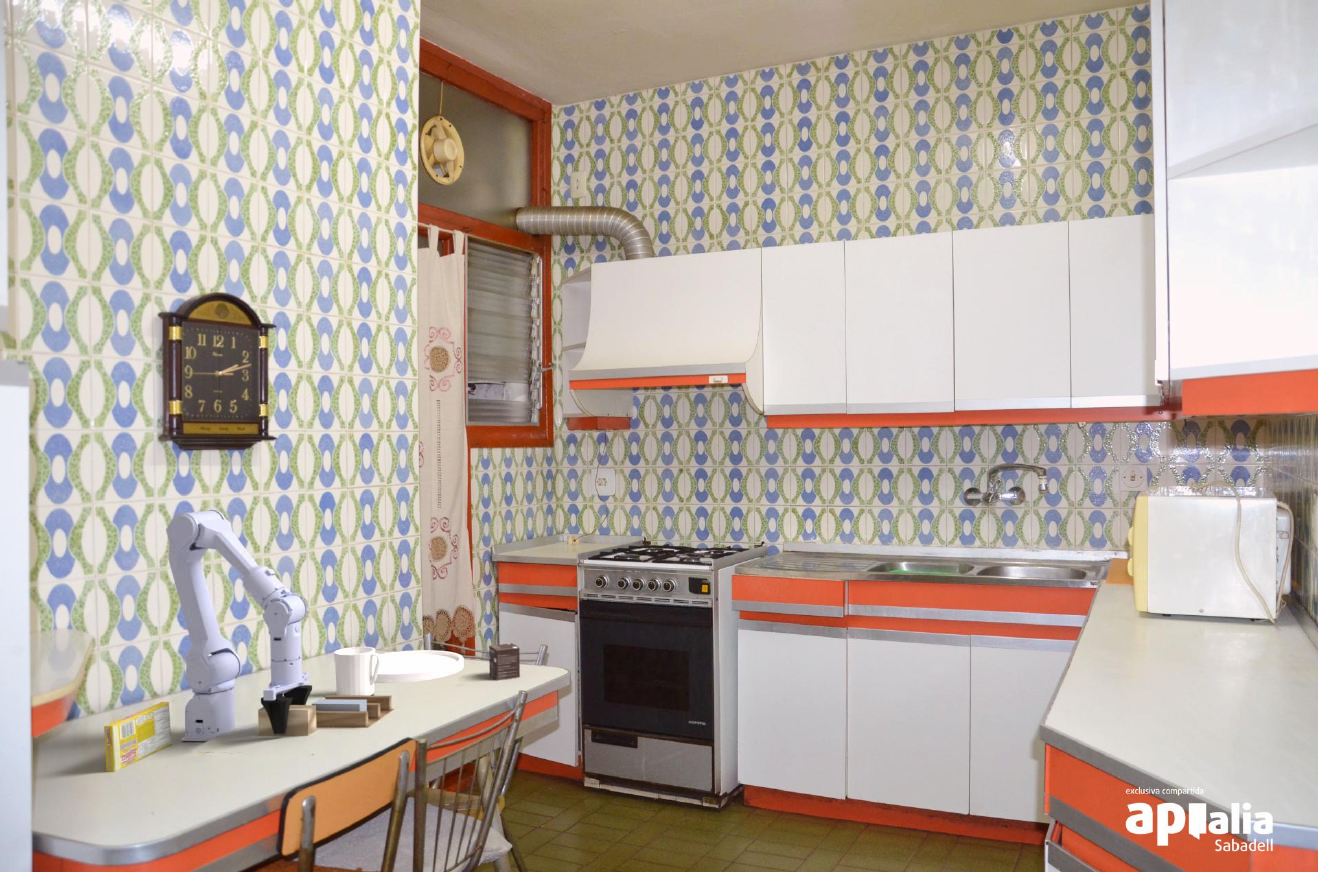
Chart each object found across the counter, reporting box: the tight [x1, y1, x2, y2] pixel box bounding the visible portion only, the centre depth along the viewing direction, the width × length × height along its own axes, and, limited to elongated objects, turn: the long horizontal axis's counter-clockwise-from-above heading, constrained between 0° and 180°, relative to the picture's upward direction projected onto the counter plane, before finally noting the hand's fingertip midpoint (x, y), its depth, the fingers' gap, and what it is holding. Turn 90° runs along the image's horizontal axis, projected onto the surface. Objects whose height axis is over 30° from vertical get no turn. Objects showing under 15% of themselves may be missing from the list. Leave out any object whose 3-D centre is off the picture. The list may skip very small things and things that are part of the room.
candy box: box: [103, 701, 172, 773], centre depth 186 cm, size 16×2×8 cm, turn 172°
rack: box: [316, 694, 395, 729], centre depth 207 cm, size 14×15×4 cm
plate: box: [374, 649, 465, 684], centre depth 255 cm, size 28×28×2 cm
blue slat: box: [311, 698, 367, 711], centre depth 204 cm, size 4×10×4 cm, turn 84°
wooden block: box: [257, 704, 317, 737], centre depth 196 cm, size 4×10×6 cm, turn 84°
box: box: [488, 642, 521, 681], centre depth 245 cm, size 6×6×7 cm
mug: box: [333, 646, 381, 696], centre depth 228 cm, size 11×9×10 cm
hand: (287, 728), depth 196 cm, fingers open, 6 cm apart
